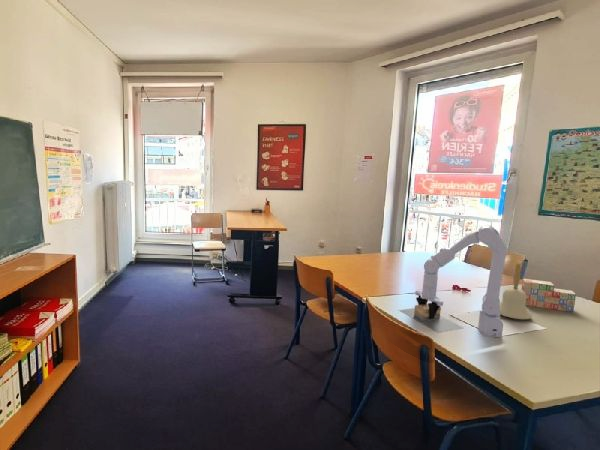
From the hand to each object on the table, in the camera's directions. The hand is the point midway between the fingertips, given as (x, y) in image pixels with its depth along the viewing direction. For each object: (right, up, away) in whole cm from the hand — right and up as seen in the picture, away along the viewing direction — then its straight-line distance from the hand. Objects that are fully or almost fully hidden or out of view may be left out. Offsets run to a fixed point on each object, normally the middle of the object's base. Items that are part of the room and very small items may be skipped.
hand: (427, 315), depth 152 cm
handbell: (+43, -2, +9) cm, 44 cm away
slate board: (+1, -2, -1) cm, 2 cm away
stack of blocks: (+68, -1, +23) cm, 72 cm away
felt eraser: (0, -1, 0) cm, 1 cm away
